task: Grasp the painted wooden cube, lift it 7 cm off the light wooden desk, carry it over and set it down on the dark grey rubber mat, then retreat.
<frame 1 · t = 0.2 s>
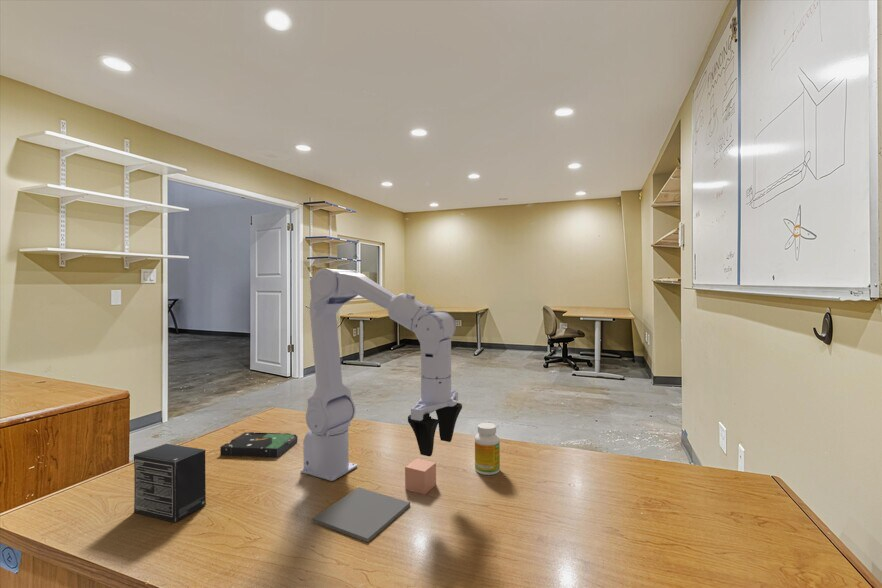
hand: (436, 447, 75), 9 cm above the table, fingers open, 7 cm apart
small box: (171, 509, 72), on the table
disk drive: (260, 451, 100), on the table
supplement bottle: (487, 470, 87), on the table
mat: (362, 513, 70), on the table
cube: (420, 487, 80), on the table
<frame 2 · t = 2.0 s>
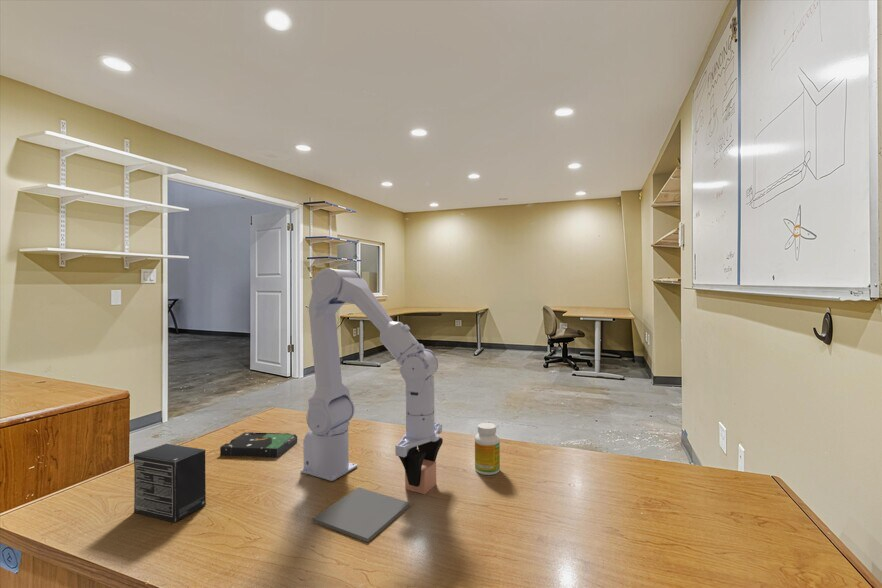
hand: (420, 479, 80), 1 cm above the table, fingers closed on cube, 4 cm apart
cube: (420, 486, 80), on the table, touching gripper
everything else where it was.
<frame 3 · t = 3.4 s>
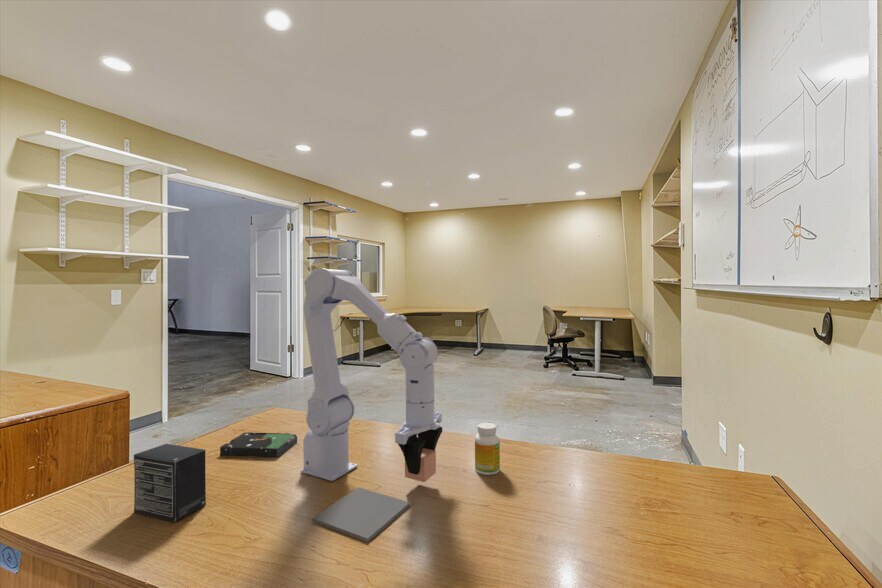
hand: (420, 467, 80), 4 cm above the table, fingers closed on cube, 4 cm apart
cube: (420, 474, 80), point 2 cm above the table, touching gripper
everything else where it was.
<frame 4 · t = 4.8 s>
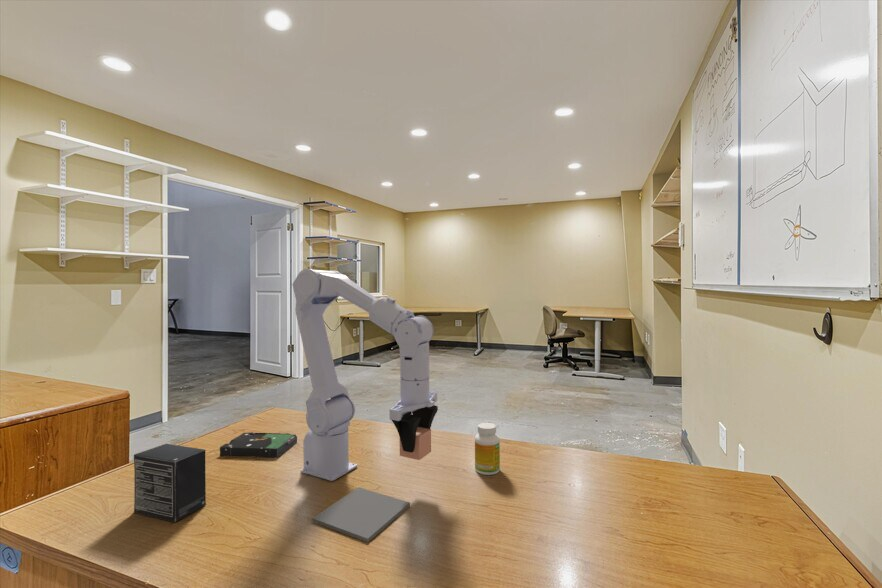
hand: (415, 446, 79), 8 cm above the table, fingers closed on cube, 4 cm apart
cube: (415, 453, 79), point 7 cm above the table, touching gripper
everything else where it was.
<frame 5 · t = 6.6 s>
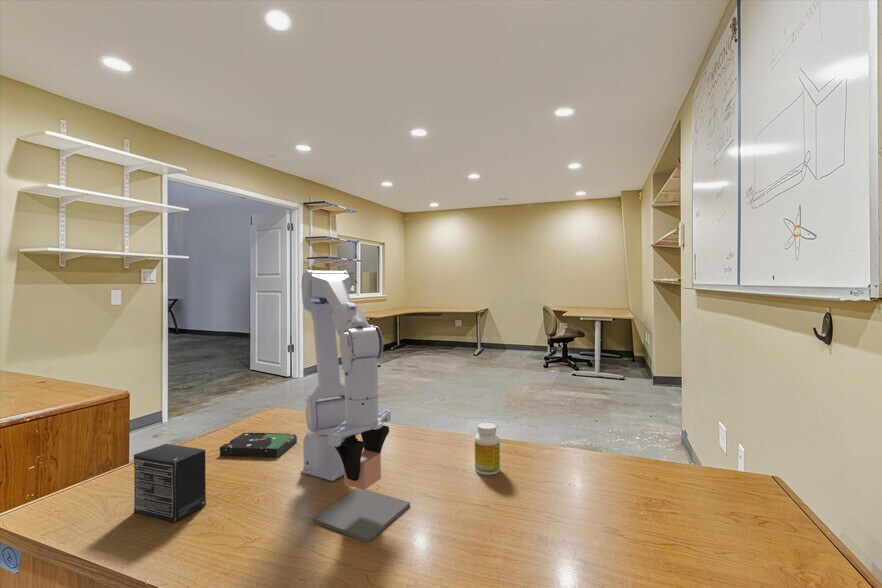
hand: (362, 473, 70), 7 cm above the table, fingers closed on cube, 4 cm apart
cube: (362, 481, 70), point 6 cm above the table, touching gripper
everything else where it was.
when the fingers open (3 cm above the table, at t = 7.9 s): cube stays where it is, resting on mat.
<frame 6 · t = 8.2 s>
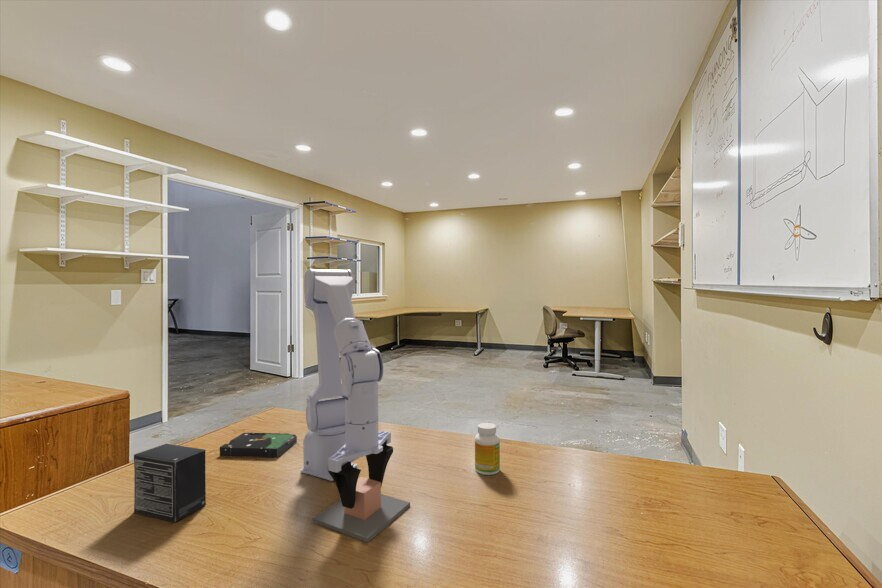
hand: (362, 496, 70), 3 cm above the table, fingers open, 7 cm apart
cube: (362, 510, 70), point 1 cm above the table, touching mat
everything else where it was.
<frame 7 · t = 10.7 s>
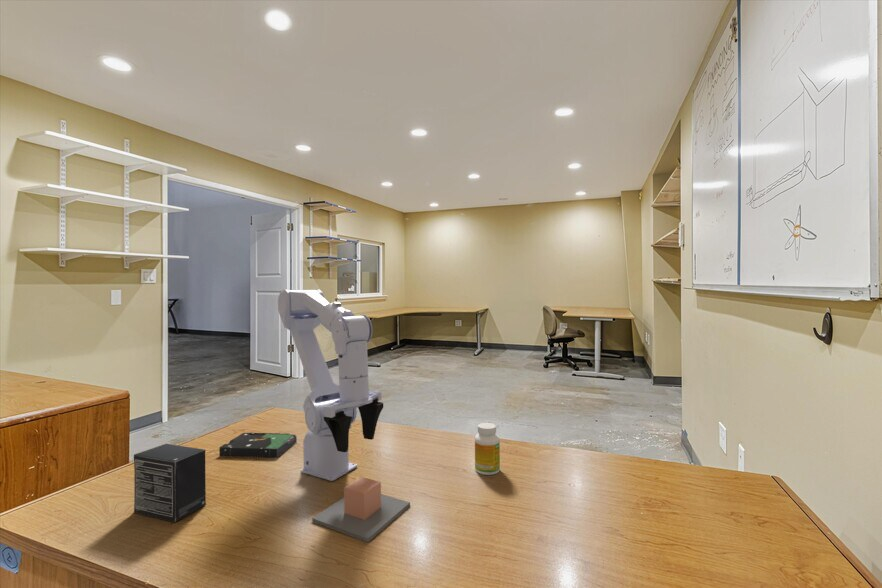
hand: (356, 444, 79), 9 cm above the table, fingers open, 7 cm apart
nothing on the table moved.
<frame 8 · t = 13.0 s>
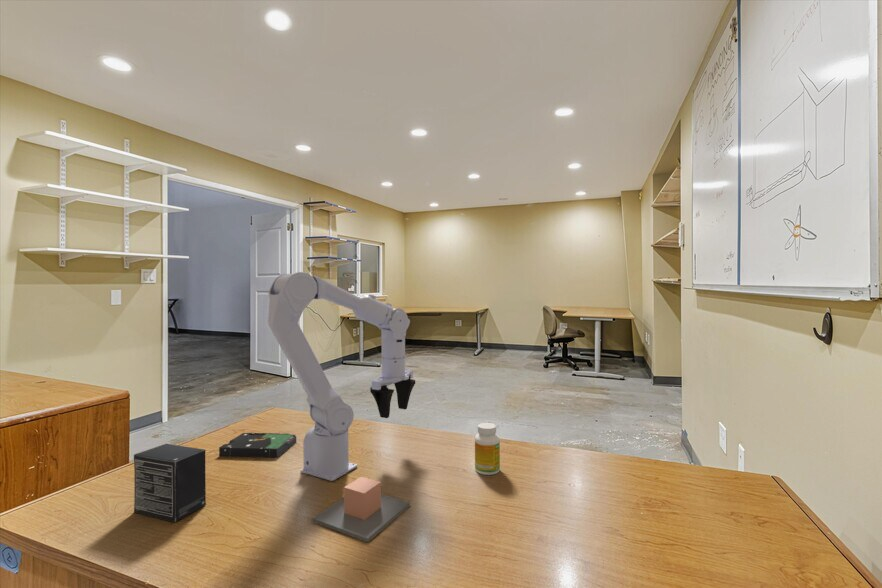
hand: (393, 412, 97), 9 cm above the table, fingers open, 7 cm apart
nothing on the table moved.
at the end: cube inside the target area on the mat (0.0 cm from its centre), point 0.6 cm above the mat's base; cube moved 13.6 cm from its start; the gripper is holding nothing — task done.
